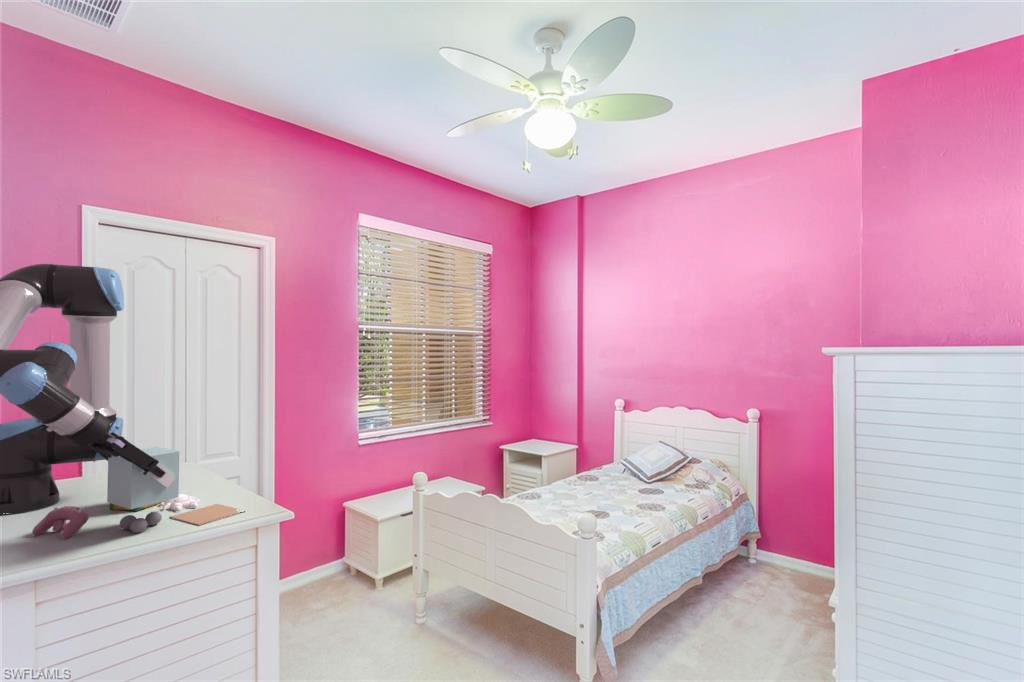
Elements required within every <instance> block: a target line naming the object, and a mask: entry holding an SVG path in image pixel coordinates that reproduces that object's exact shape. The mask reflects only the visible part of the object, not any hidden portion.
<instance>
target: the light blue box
mask: <svg viewBox="0 0 1024 682" xmlns="http://www.w3.org/2000/svg"><path fill="white" fill-rule="evenodd" d="M139 449H140V450H142V451H143V452H145V453H146V454H148V455H149V456H151V457H152V458H154V459H156V460H158V461H159V463H158V465H160V466H161V467H162V468H164V469H165V470H166V471H168V472H169V473H170V474H172V475H173V476H174V477H176V479H175V480H174V481H173V482H172V483H171V484H170V486H169V487H168V488H166V487H164V486H163V485H161V484H160V483H159V482H157V481H156V480H154V479H153V478H152V477H150V476H149V475H147V474H146V475H144V474H143V473H144V472H145V471H144V470H143V469H141V468H139V467H138V466H136V465H135V464H133V463H132V462H129V461H127V460H125V459H123V458H122V457H120V456H118V457H115V456H113V455H111V458H109V457H108V461H107V491H106V492H107V501H106V503H109V504H110V503H111V504H115V505H118V506H121V507H125V508H128V509H134V508H138V507H142V506H146V505H150V504H154V503H158V502H162V501H166V500H170V499H174V498H178V494H180V493H179V492H180V491H179V489H180V487H179V485H180V483H179V482H180V451H179V450H173V449H170V448H169V449H168V448H164V447H158V446H153V447H145V448H142V449H141V448H139Z"/></svg>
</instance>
